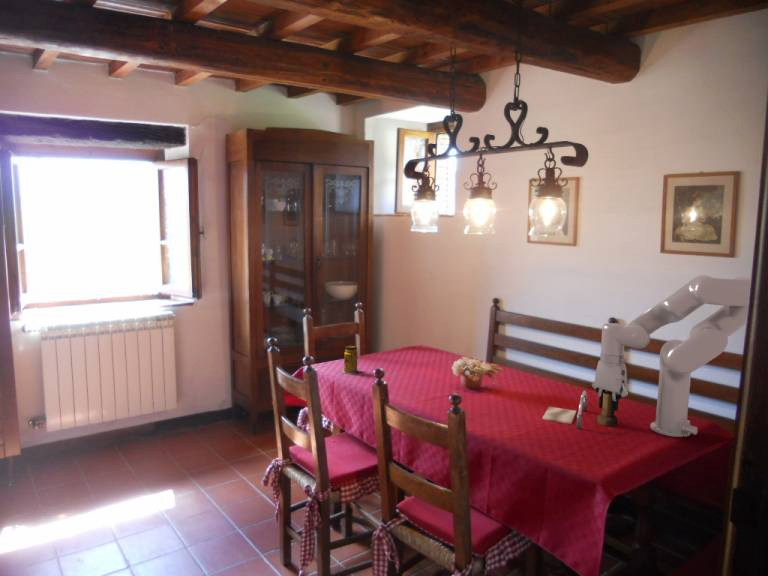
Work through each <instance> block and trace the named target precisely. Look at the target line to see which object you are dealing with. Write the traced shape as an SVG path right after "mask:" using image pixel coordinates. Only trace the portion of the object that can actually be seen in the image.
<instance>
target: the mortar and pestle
mask: <svg viewBox="0 0 768 576" xmlns="http://www.w3.org/2000/svg"><path fill="white" fill-rule="evenodd" d="M612 400H613V397H612V392H610V391H605V392H603V407H602V408H601V409H602V410H601V413H600V414H598V415H597V423H598V424H599V425H601V426H605V427H615V426H616V427H617V426H618V417H617V416H616V415H615V412H611V411H610V410H611V401H612Z"/></svg>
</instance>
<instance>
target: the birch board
mask: <svg viewBox="0 0 768 576" xmlns="http://www.w3.org/2000/svg"><path fill="white" fill-rule="evenodd" d="M547 407H548V408H547V409H546V411H545V412H544V415H543V416H542V420H545V421H551V422H558V423H563V424H569V425H572V423H573V422H574V419H575V416H576V414H577V410H574V409H573V410H572V409H568V408H567V409H566V408H560V407H556V406H555V407H554V406H547Z"/></svg>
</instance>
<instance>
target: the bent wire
mask: <svg viewBox="0 0 768 576" xmlns="http://www.w3.org/2000/svg"><path fill="white" fill-rule="evenodd" d="M587 411H588V396H587V391H586V390H583V392H582V394H581V396H580V401H579V405H578V412H577V413H576V414H577V415H576V429H577V430H581V429H582V417H583V416H582V412H584V413H587Z"/></svg>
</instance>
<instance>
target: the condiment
mask: <svg viewBox="0 0 768 576" xmlns="http://www.w3.org/2000/svg"><path fill="white" fill-rule="evenodd" d="M357 351H358V350H357V346H356V345H346V346H345V351H344V354H343V356H344V357H343V358H344V363H343V364H344V365H343V367H344V368H343V370H342V371H341V370H340V372H341V373H344V374H348V375H349V376H350V375H354V374H359V373H363V372H365V370H361V371H360V372H359V370H360V369H358V352H357ZM357 372H358V373H357Z"/></svg>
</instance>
